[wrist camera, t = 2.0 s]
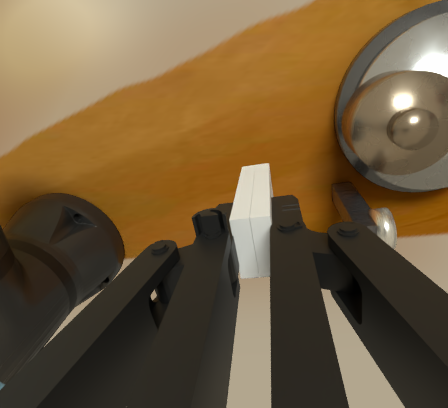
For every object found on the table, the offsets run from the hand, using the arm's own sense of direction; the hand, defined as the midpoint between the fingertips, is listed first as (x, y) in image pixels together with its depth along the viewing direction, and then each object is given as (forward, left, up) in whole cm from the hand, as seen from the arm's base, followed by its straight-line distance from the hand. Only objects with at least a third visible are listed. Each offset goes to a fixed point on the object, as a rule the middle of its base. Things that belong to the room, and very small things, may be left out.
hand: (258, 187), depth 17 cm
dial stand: (+8, -8, -16) cm, 20 cm away
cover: (+11, 0, -13) cm, 17 cm away
